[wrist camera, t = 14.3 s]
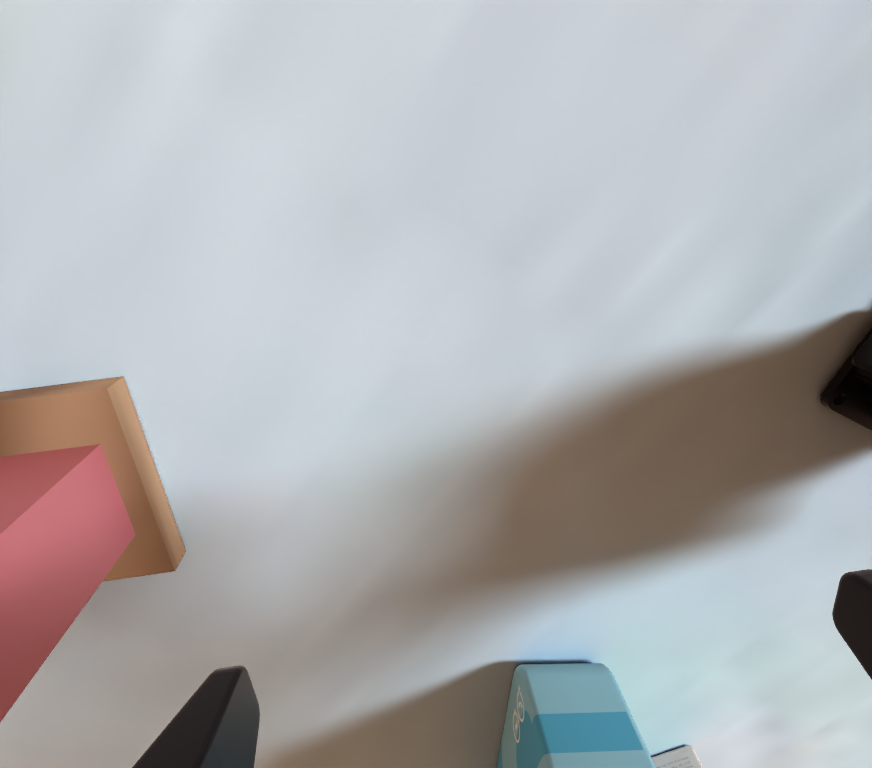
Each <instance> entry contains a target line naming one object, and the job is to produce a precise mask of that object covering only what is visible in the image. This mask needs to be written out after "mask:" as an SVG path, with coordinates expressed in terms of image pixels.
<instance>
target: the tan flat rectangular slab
mask: <svg viewBox="0 0 872 768" xmlns="http://www.w3.org/2000/svg"><path fill="white" fill-rule="evenodd" d="M96 444H101V447H102V449H103V452H104V454H105V457H106V459H107V462H108V465H109V467H110V470H111V472H112V475H113V477H114V480H115V483H116V485H117V488H118V490H119V493H120V495H121V498H122V500H123V503H124V506H125V508H126V511H127V513H128V516H129V518H130V521H131V524H132V526H133V529H134V531H135V534H136V535H135V537H134V538H133V539H132V541H131V542H130V543H129V545H128V546H127V548H126V549H125V550H124V552H123V553H122V555H121V556H120V557H119V559H118V560H117V561H116V563H115V564H114V566H113V567H112V568H111V570H110V571H109V573H108V574H107V575H106V577H105V578H104V579H103V581H109V580H116V579H123V578H130V577H137V576H144V575H151V574H158V573H165V572H172V571H175V570H176V568H177V566H178V565H179V563H180V561H181V559H182V557H183V556H184V554H185V552H186V550H185V548H184V545H183V542H182V539H181V536H180V534H179V531H178V528H177V525H176V522H175V520H174V517H173V514H172V511H171V508H170V505H169V503H168V500H167V497H166V494H165V491H164V489H163V486H162V483H161V480H160V477H159V475H158V472H157V469H156V466H155V463H154V460H153V458H152V455H151V452H150V449H149V446H148V444H147V441H146V438H145V435H144V432H143V430H142V427H141V424H140V421H139V418H138V415H137V413H136V410H135V407H134V404H133V401H132V399H131V396H130V393H129V390H128V387H127V385H126V382H125V379H124V376H123V377H115V378H107V379H100V380H92V381H84V382H76V383H68V384H60V385H52V386H45V387H37V388H29V389H21V390H13V391H5V392H0V457H3V456H11V455H19V454H26V453H34V452H42V451H50V450H58V449H65V448H73V447H81V446H89V445H96Z"/></svg>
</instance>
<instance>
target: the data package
mask: <svg viewBox="0 0 872 768" xmlns="http://www.w3.org/2000/svg"><path fill="white" fill-rule="evenodd" d="M497 768H656V767H655V765H654V763H653V761H652V758H651V756H650V754H649V752H648V750H647V748H646V745H645V743H644V741H643V739H642V737H641V734H640V732H639V730H638V728H637V726H636V723H635V721H634V719H633V717H632V715H631V713H630V710H629V708H628V706H627V704H626V702H625V699H624V697H623V695H622V693H621V691H620V689H619V686H618V684H617V682H616V680H615V678H614V676H613V674H612V672H611V671H610V670H609V669H608V668H607V667H606V666H605V665H603V664H601V663H583V664H524V665H519V666H517V668H516V669H515V671H514V674H513V679H512V685H511V690H510V696H509V701H508V707H507V712H506V718H505V724H504V729H503V735H502V740H501V746H500V751H499V757H498V762H497Z"/></svg>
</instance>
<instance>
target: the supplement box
mask: <svg viewBox="0 0 872 768" xmlns="http://www.w3.org/2000/svg"><path fill="white" fill-rule="evenodd" d="M652 761H653V763H654V765H655V767H656V768H703V766H702V765H701V763H700V761H699V759H698V757H697V755H696V753H695V751H694V749H693V747H692V746H685V747H682V748H678V749H676V750H672V751H669V752H666V753H663V754H660V755H657V756H655V757H652Z"/></svg>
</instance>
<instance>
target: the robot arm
mask: <svg viewBox="0 0 872 768" xmlns="http://www.w3.org/2000/svg"><path fill="white" fill-rule="evenodd" d="M837 395H838V396H837ZM836 396H837V398H836V399H835V397H836ZM834 399H835V400H834ZM820 400H821V403H822V404H823V405H824V406H826V407H828V408H830V409H832V410H834V411H836V412H837V413H839V414H841V415H843V416H845V417H847V418H849V419H851V420H853V421H855V422H857V423H859V424H861V425H863V426H865V427H867V428H869V429H871V430H872V329H871V330H870V331H869V333H868V334H867V335H866V337H865V338H864V339H863V341H862V342H861V343H860V344H859V346H858V347H857V348H856V350H855V351H854V352H853V353H852V355H851V356H850V357H849V359H848V360H847V361H846V363H845V364H844V365H843V366H842V368H841V369H840V370H839V372H838V373H837V374H836V375H835V377H834V378H833V379H832V381H831V382H830V383H829V385H828V386H827V387H826V388H825V390H824V391H823V393H822V395H821V399H820ZM832 614H833V620H834V624H835V626H836V628H837V630H838V631H839V633H840V635H841V636H842V637H843V639H844V640H845V642H846V643H847V645H848V646H849V648H850V649H851V650H852V652H853V653H854V655H855V656H856V658H857V659H858V661H859V662H860V663H861V665H862V666H863V668H864V669H865V671H866V672H867V674H868V675H869V676H870V678H871V679H872V570H869V569H868V570H860V571H854V572H848V573H845V574H844V575H843V576H842V577H841V579H840V582H839V586H838V591H837V595H836V599H835V603H834V608H833V613H832ZM259 717H260V713H259V704H258V701H257V698H256V695H255V692H254V689H253V686H252V683H251V680H250V677H249V674H248V672H247V670H246V668H245V667H244V666H233V667H227V668H220V669H217V670H215V671H214V672H213V673H211V674H210V675H209V677H208V678H207V679H206V680H205V681H204V683H203V684H202V685H201V686H200V687H199V689H198V690H197V691H196V692H195V693H194V695H193V696H192V697H191V698H190V699H189V700H188V702H187V703H186V704H185V705H184V706H183V708H182V709H181V710H180V711H179V712H178V714H177V715H176V716H175V717H174V718H173V720H172V721H171V722H170V723H169V724H168V726H167V727H166V728H165V729H164V730H163V732H162V733H161V734H160V735H159V736H158V738H157V739H156V740H155V741H154V742H153V743H152V745H151V746H150V747H149V748H148V749H147V751H146V752H145V753H144V754H143V755H142V757H141V758H140V759H139V760H138V761H137V763H136V764H135V765H134V766H133V767H132V768H254V761H255V753H256V745H257V737H258V728H259Z"/></svg>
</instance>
